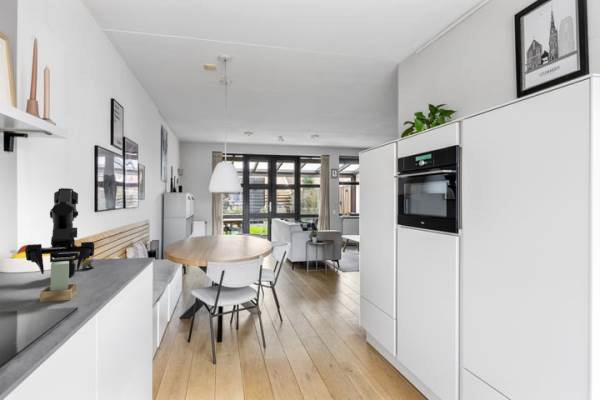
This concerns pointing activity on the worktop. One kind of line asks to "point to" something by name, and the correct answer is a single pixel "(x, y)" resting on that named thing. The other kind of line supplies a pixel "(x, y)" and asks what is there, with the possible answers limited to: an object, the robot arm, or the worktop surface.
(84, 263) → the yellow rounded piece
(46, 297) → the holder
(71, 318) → the worktop surface
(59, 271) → the post
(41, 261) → the robot arm
